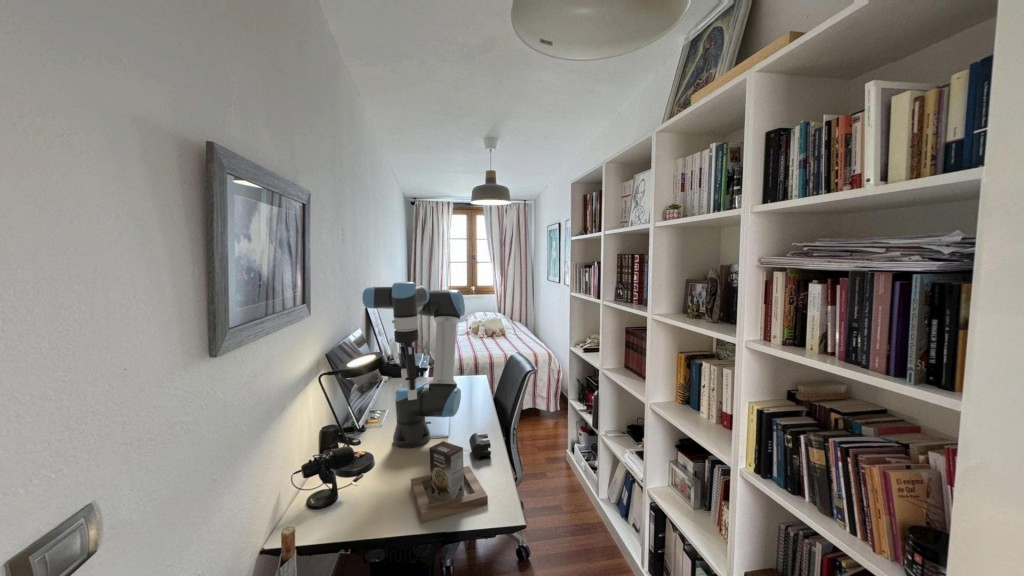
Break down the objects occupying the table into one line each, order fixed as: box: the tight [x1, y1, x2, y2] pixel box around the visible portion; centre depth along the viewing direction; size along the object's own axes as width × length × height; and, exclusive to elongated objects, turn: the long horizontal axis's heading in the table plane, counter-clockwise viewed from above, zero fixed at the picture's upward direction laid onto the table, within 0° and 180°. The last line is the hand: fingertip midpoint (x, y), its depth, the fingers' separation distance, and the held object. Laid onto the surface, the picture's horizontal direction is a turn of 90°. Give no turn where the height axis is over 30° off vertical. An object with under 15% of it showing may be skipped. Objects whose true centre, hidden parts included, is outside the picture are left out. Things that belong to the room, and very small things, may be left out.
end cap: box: [468, 432, 492, 461], centre depth 157 cm, size 10×7×7 cm
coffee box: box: [428, 440, 465, 502], centre depth 129 cm, size 9×6×16 cm
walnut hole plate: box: [410, 465, 489, 524], centre depth 130 cm, size 20×20×3 cm
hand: (409, 393), depth 134 cm, fingers open, 13 cm apart
